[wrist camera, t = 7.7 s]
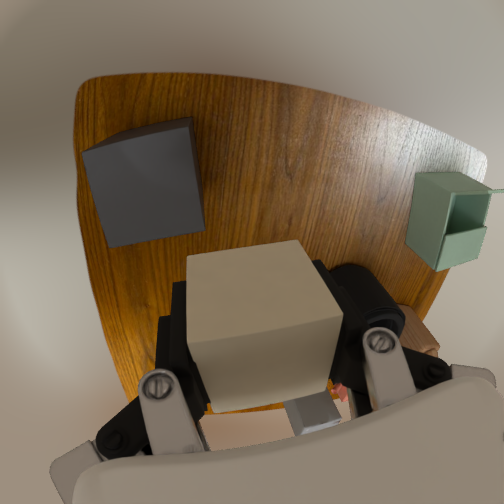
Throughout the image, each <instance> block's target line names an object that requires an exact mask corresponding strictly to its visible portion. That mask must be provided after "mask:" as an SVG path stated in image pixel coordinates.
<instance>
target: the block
mask: <svg viewBox="0 0 504 504" xmlns="http://www.w3.org/2000/svg"><path fill="white" fill-rule="evenodd" d="M186 316H187V344H188V347H189V350H190V353H191V356H192V358H193V361H194V362H196V364H197V367H198V370H199V373H200V375H201V378H202V381H203V383H204V386H205V389H206V391H207V394H208V396H209V399H210V401H211V403H210V405H211V407H212V410H213V412H214V413H219V412H227V411H234V410H240V409H246V408H252V407H257V406H263V405H268V404H273V403H278V402H282V401H287V400H291V399H295V398H299V397H304V396H308V395H311V394H315V393H319V392H323V391H325V389H326V385H327V382H328V378H329V374H330V370H331V366H332V363H333V359H334V354H335V350H336V346H337V342H338V337H339V333H340V328H341V323H342V319H343V312H342V311H341V309H340V307H339V306H338V304H337V302H336V301H335V299H334V297H333V296H332V294H331V292H330V291H329V289H328V287H327V286H326V284H325V283H324V281H323V279H322V278H321V276H320V275H319V273H318V271H317V270H316V268H315V267H314V265H313V263H312V262H311V260H310V259H309V257H308V255H307V254H306V252H305V251H304V249H303V248H302V246H301V244H300V243H299V241H298V240H291V241H285V242H278V243H271V244H264V245H257V246H251V247H244V248H237V249H230V250H224V251H217V252H210V253H204V254H197V255H191V256H187V287H186Z"/></svg>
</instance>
